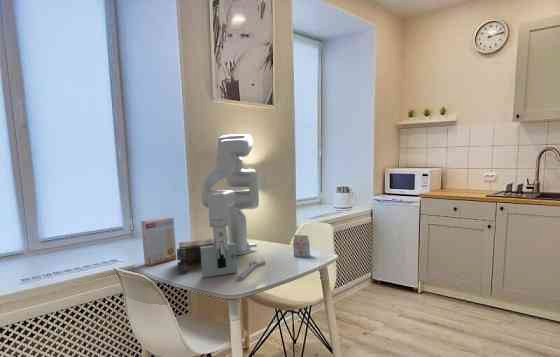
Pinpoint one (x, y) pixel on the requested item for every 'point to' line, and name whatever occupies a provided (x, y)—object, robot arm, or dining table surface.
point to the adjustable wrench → (250, 269)
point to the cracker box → (158, 240)
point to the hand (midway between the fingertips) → (221, 266)
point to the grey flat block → (211, 263)
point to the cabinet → (190, 254)
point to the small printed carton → (301, 246)
